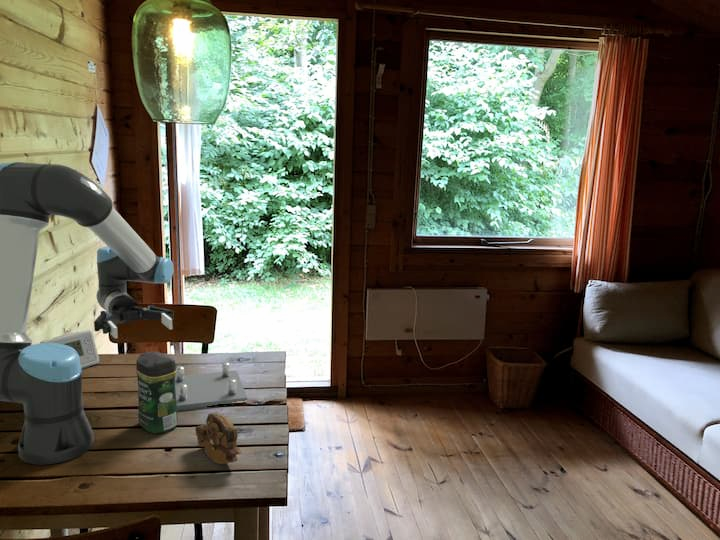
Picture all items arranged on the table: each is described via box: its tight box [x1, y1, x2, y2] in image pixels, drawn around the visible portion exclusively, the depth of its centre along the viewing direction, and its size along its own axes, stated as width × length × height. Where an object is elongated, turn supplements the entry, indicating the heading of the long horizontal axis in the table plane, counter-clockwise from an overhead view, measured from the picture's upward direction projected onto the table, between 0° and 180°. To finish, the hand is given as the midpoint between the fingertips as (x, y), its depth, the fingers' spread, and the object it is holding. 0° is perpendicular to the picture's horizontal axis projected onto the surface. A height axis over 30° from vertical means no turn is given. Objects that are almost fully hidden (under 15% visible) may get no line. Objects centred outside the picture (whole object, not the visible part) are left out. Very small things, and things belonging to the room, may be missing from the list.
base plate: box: [175, 361, 248, 412], centre depth 161 cm, size 20×20×6 cm
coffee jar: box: [135, 350, 179, 434], centre depth 140 cm, size 10×8×19 cm
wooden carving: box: [194, 412, 242, 465], centre depth 127 cm, size 16×5×10 cm, turn 48°
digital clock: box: [39, 329, 100, 370], centre depth 173 cm, size 16×9×11 cm, turn 133°
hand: (144, 328), depth 145 cm, fingers open, 13 cm apart
